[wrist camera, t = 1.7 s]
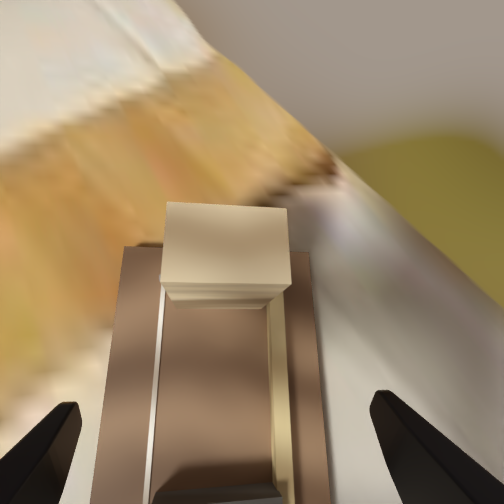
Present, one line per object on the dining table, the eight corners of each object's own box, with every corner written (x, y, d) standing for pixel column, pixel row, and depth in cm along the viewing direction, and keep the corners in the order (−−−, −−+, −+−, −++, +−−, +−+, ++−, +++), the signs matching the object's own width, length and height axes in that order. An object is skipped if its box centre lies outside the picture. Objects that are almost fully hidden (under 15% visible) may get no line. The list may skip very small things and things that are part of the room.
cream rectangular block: (261, 308, 21) (291, 284, 14) (158, 308, 20) (131, 281, 13) (259, 256, 23) (286, 208, 15) (163, 254, 21) (141, 200, 14)
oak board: (326, 526, 18) (349, 559, 15) (89, 553, 16) (63, 597, 13) (303, 257, 24) (317, 243, 21) (128, 251, 22) (116, 235, 19)
